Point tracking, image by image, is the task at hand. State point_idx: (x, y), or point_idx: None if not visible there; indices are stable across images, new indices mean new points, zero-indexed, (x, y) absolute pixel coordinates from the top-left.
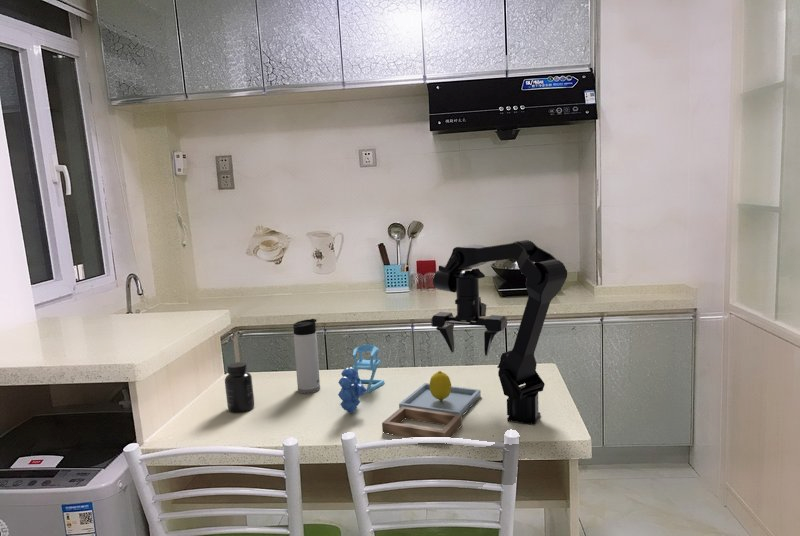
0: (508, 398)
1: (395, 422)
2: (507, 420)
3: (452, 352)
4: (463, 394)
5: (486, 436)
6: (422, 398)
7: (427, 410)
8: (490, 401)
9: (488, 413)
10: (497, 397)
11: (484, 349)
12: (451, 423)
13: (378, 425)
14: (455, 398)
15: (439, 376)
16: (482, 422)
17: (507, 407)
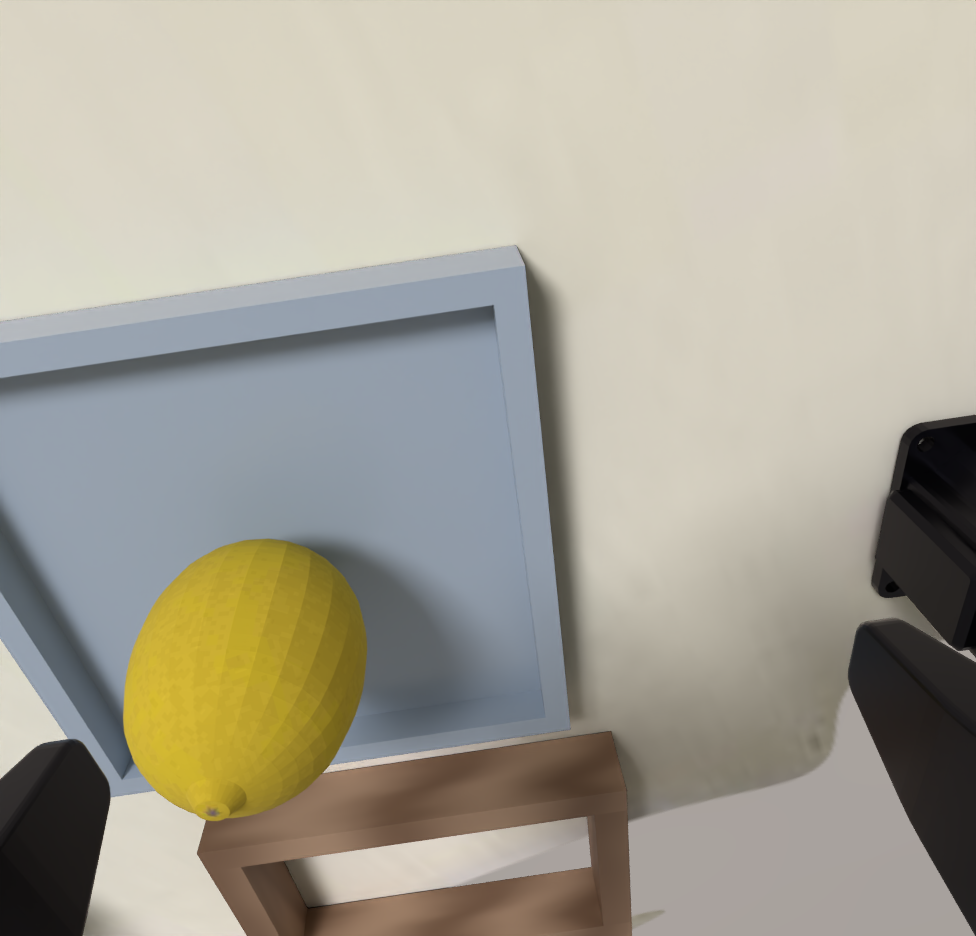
0: (969, 642)
1: (284, 896)
2: (875, 588)
3: (106, 793)
4: (363, 345)
5: (783, 761)
6: (105, 584)
7: (388, 828)
8: (654, 319)
9: (712, 535)
10: (690, 184)
11: (933, 860)
12: (616, 871)
13: (198, 893)
14: (354, 463)
15: (265, 809)
16: (714, 656)
17: (915, 604)
